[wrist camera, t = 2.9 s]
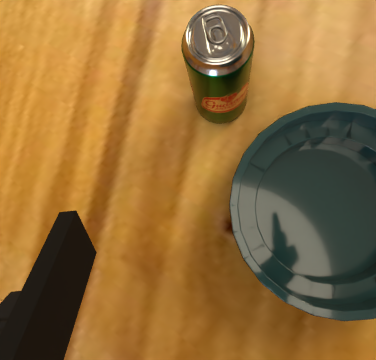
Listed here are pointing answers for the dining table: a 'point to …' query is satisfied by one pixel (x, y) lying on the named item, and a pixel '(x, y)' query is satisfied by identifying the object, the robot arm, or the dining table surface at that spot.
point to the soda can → (219, 61)
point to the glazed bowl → (312, 210)
